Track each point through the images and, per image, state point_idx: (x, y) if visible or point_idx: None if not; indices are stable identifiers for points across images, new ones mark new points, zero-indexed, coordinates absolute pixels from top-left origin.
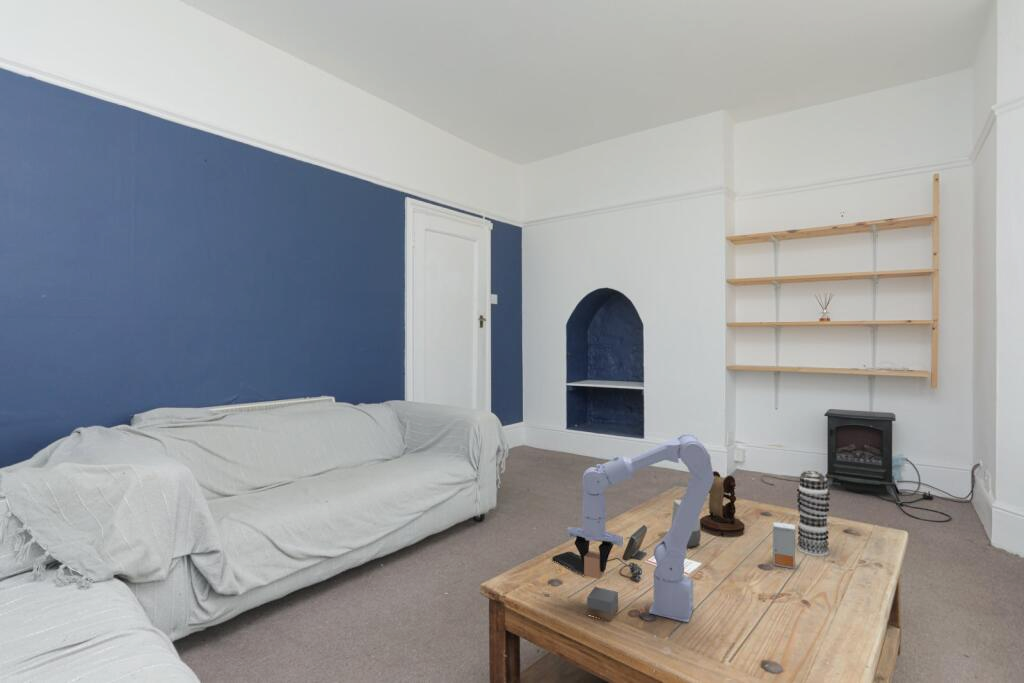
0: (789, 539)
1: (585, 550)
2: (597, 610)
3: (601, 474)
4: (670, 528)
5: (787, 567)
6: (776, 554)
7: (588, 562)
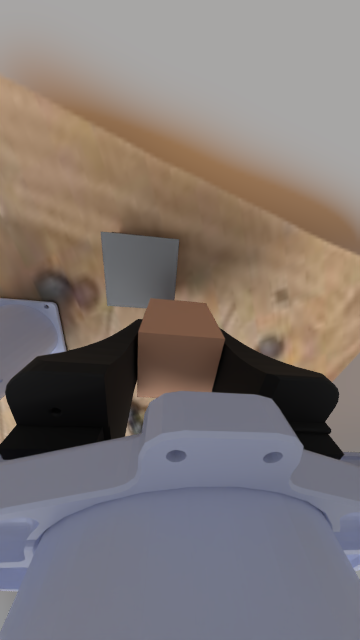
0: None
1: (227, 375)
2: (149, 236)
3: None
4: None
5: None
6: None
7: (197, 324)
